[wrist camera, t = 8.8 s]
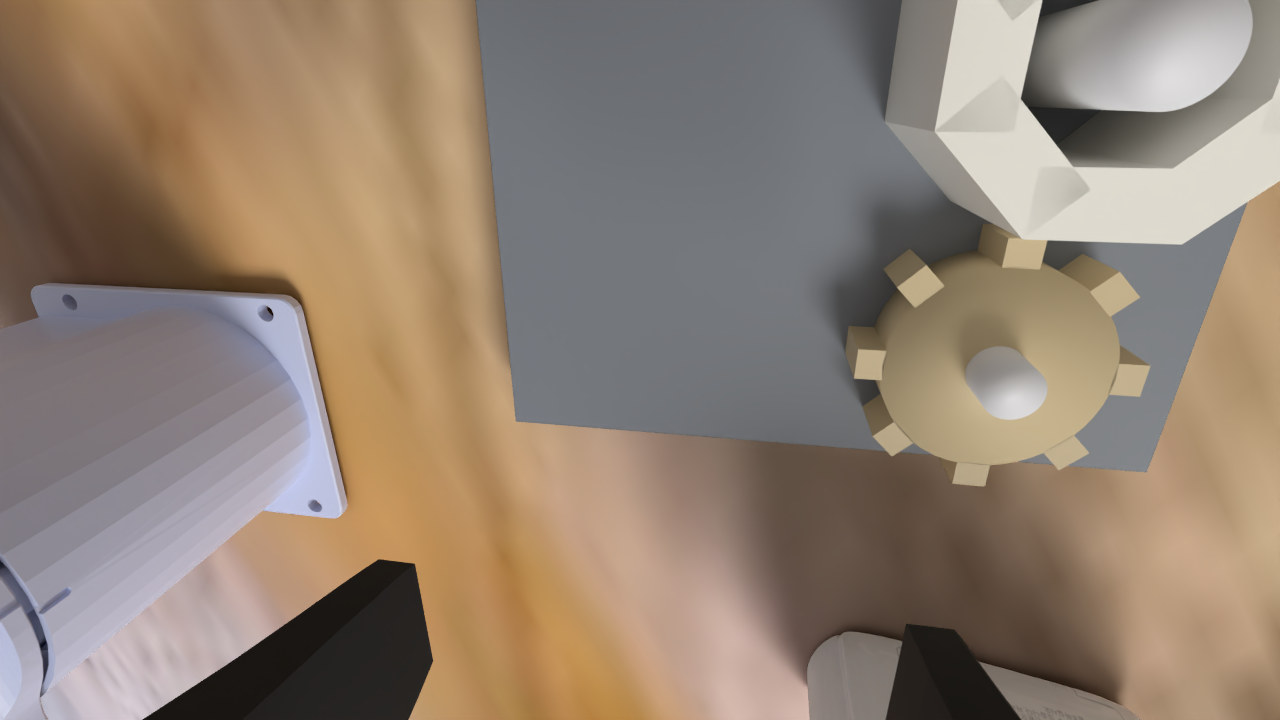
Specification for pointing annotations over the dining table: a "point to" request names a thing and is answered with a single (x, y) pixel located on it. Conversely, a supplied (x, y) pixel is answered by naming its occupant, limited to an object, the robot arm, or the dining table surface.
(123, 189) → the dining table surface
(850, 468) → the dining table surface
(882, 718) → the photo printer
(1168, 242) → the octagonal pipe segment
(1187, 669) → the dining table surface
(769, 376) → the gear board
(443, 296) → the dining table surface
